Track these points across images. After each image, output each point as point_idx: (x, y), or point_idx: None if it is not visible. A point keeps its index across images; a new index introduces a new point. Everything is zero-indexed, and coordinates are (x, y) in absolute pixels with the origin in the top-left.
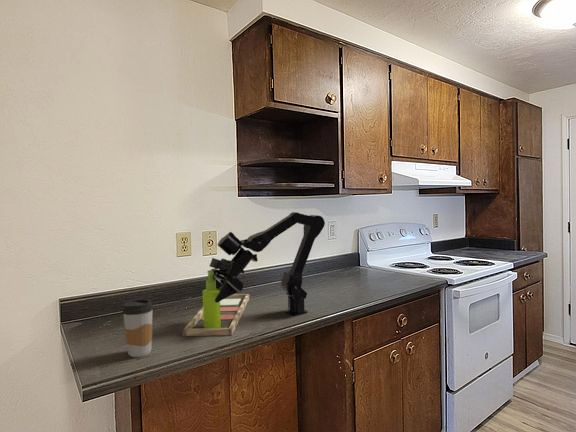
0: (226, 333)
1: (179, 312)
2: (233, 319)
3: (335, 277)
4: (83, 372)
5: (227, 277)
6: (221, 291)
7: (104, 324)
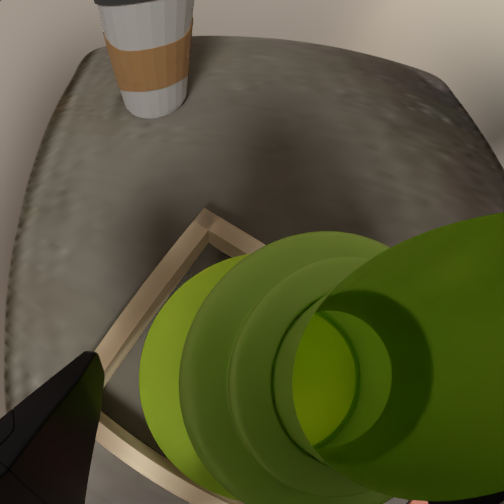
0: None
1: None
2: (200, 490)
3: None
4: None
5: None
6: (4, 418)
7: (426, 105)
